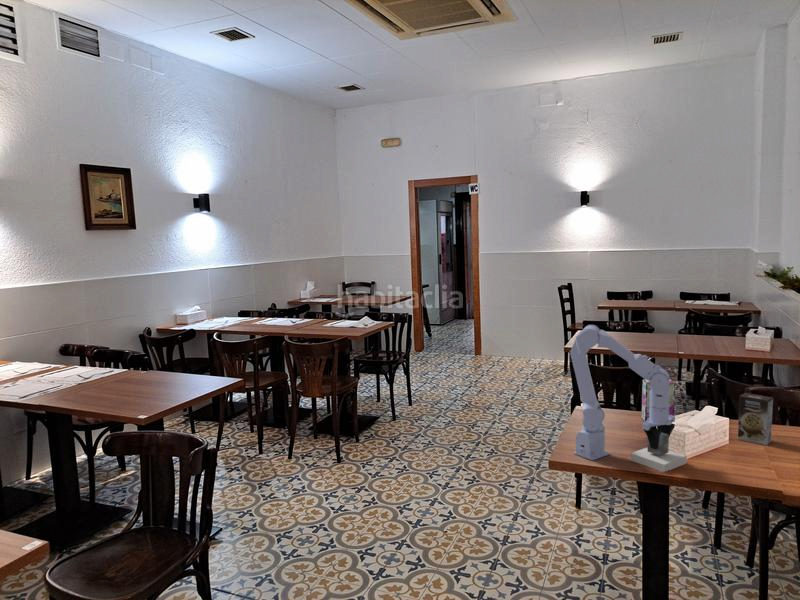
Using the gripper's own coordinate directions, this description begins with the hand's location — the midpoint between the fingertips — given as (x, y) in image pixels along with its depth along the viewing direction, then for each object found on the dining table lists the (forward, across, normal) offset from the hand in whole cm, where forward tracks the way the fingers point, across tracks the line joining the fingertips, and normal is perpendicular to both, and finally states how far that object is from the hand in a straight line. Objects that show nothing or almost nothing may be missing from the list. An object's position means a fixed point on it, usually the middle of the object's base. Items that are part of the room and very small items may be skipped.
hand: (658, 446), depth 184 cm
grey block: (+2, 0, 0) cm, 2 cm away
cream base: (+5, 0, 0) cm, 5 cm away
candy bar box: (+5, +37, +25) cm, 45 cm away
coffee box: (+5, +44, -8) cm, 45 cm away
